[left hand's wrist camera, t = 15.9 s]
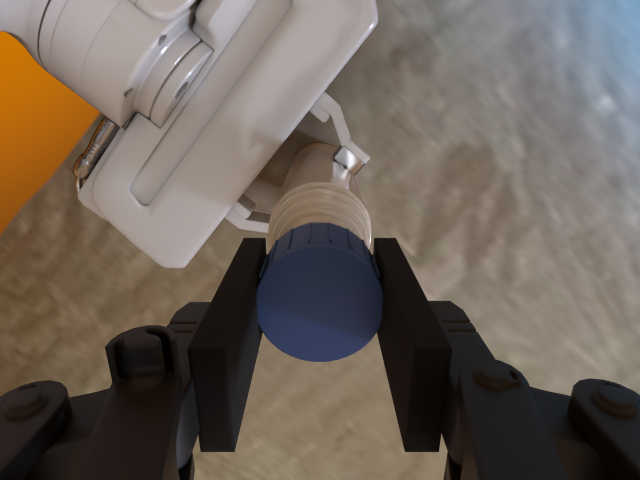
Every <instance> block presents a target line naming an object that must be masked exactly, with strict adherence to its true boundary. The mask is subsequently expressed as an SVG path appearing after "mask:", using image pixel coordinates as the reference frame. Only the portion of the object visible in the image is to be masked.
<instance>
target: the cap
mask: <svg viewBox="0 0 640 480" xmlns="http://www.w3.org/2000/svg"><path fill="white" fill-rule="evenodd" d="M259 278H260V281H259V284H258V287H257V291H256V296H257V313H258V323H259V326H260V328H261V330H262V332H263V333H264V334H265V336H266V337H267V338H268V340H269V341H270V342H271V343H272V344H273V345H275V346H276V347H277V348H278V349H280V350H281V351H283V352H284V353H286V354H288V355H290V356H292V357H295V358H298V359H302V360H306V361H313V362H326V361H333V360H338V359H341V358H344V357H347V356H349V355H351V354H354V353H355V352H357V351H358V350H360V349H361V348H363V347H364V346H365V345H366V344H367V343H368V342H369V341H370V340H371V339H372V338H373V337H374V335H375V334H376V332H377V331H378V329H379V327H380V325H381V321H382V305H383V289H382V286H381V282H380V278H381V276H380V273H379V270H378V267H377V264H376V261H375V258H374V255H373V254H372V255H371V253H370V251H369V249H368V247H367V246H366V245H365V242H364V240H363V239H362V240H361V239H360V238H359V237H358V236H357V235H355V234H354V233H353V232H351V231H350V230H349V229H348V228H347V229H346V228H344V227H341V226H338V225H335V224H331V223H330V222H329V223H311V222H310V223H309V224H305V225H301V226H299V227H296V228H294V229H293V228H291V229H290V231H288V232H287V233H285V234H284V235H283V236H282V237H281V238H279V239H278V240H276V241H275V244H274V245H273V247H272V248H271V250H270V252H269V254H268V255H267V254H266V257H265V260H264V263H263V266H262V269H261V272H260V275H259Z"/></svg>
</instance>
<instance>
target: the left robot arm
mask: <svg viewBox="0 0 640 480" xmlns="http://www.w3.org/2000/svg"><path fill="white" fill-rule="evenodd" d="M373 255H374V258H375V261H376V264H377V267H378V270H379V273H380V276H381V278H380V282H381V286H382V289H383V305H382V321H381V325H380V327H379V329H378V331H377V335H378V339H379V343H380V347H381V352H382V356H383V360H384V365H385V369H386V373H387V377H388V382H389V386H390V390H391V394H392V399H393V403H394V407H395V411H396V416H397V420H398V424H399V428H400V433H401V437H402V441H403V445H404V450H405V452H439V446H440V439H441V433H442V436H443V439H444V441H445V444H446V447H447V450H448V453H447V460H446V467H445V474H444V480H640V395H639V394H637V393H636V392H634V391H632V390H630V389H628V388H626V387H624V386H622V385H620V384H617V383H614V382H611V381H606V380H600V379H585V380H580V381H578V382H577V383H576V384H575V385H574V386H573V390H572V394H571V396H568V395H563V394H558V393H554V392H549V391H544V390H540V389H537V388H533V387H530V386H529V384H528V381H527V380H526V379H525V377H524V376H523V375H522V373H521V372H519V371H518V370H517V369H515V368H514V367H512V366H511V365H508V364H506V363H504V362H502V361H499V360H495V358H494V357H493V355H492V354H491V352H490V351H489V349H488V347H487V346H486V344H485V343H484V341H483V340H482V338H481V337H480V335H479V334H478V332H476V329H475V328H474V326H473V324H472V323H470V320H469V318H468V317H467V315H466V314H465V312H464V311H463V310H462V309H461V308H459V307H458V306H456V305H455V304H454V303H452V302H451V301H428V300H427V298H426V296H425V295H424V293H423V291H422V289H421V287H420V285H419V283H418V281H417V279H416V277H415V275H414V273H413V271H412V269H411V267H410V265H409V263H408V261H407V259H406V257H405V255H404V253H403V252H402V250H401V248H400V246H399V244H398V242H397V240H396V238H374V252H373ZM265 257H266V241H265V238H244V239H243V241H242V243H241V245H240V247H239V249H238V251H237V253H236V255H235V256H234V258H233V260H232V262H231V264H230V266H229V268H228V270H227V272H226V274H225V276H224V278H223V280H222V282H221V284H220V286H219V288H218V290H217V292H216V294H215V295H214V297H213V299H212V301H211V302H189V303H188V304H186V305H185V306H184V307H182V308H181V309H179V310H178V311H177V312H176V313H175V315H174V316H173V318H172V319H171V321H170V324H168V325H167V327H164V326H160V325H148V326H142V327H137V328H133V329H131V330H128V331H125V332H123V333H121V334H119V335H118V336H116V337H115V338H113V339H112V340H111V341H110V342H109V343H108V344H107V345H106V347H105V349H106V354H107V359H108V363H109V368H110V373H111V377H112V384H111V387H110V388H109V389H106V390H102V391H99V392H94V393H90V394H85V395H80V396H76V397H71V398H69V396H68V392H67V388H66V387H65V386H64V385H63V384H62V383H60V382H55V381H50V380H49V381H39V382H33V383H29V384H26V385H23V386H20V387H18V388H16V389H14V390H12V391H10V392H7V393H5V394H4V395H3V396H1V397H0V480H194V471H195V467H194V460H193V453H192V451H193V448H194V445H195V442H196V439H197V436H198V435H199V442H200V450H201V452H235V448H236V443H237V439H238V435H239V431H240V426H241V422H242V418H243V414H244V409H245V405H246V401H247V397H248V392H249V388H250V384H251V380H252V375H253V371H254V367H255V363H256V358H257V354H258V350H259V346H260V341H261V337H262V333H263V332H262V330H261V328H260V326H259V323H258V313H257V296H256V291H257V287H258V284H259V281H260V278H259V275H260V272H261V269H262V266H263V263H264V260H265Z"/></svg>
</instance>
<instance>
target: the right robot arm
mask: <svg viewBox="0 0 640 480" xmlns="http://www.w3.org/2000/svg"><path fill="white" fill-rule="evenodd" d="M377 23H378V12H377V4H376V0H0V31H5V32H7V33H9V34H10V35H12V36H13V37H14V38H16V39H17V40H18V41H19V42H20V43H21V44H22V45H23V46H24V47H25V48H26V49H27V51H28V52H29V53H30V54H31V56H32V57H33V58H34V59H35V61H36V62H37V63H38V64H39V65H40V66H41V67H42V68H43V69H45V70H46V71H47V72H48V73H50V74H51V75H52V76H54V77H55V78H56V79H58V80H59V81H60V82H62V83H63V84H64V85H66V86H67V87H68V88H70V89H71V90H72V91H74V92H75V93H76V94H78V95H79V96H80V97H81V98H83V99H84V100H85V101H87V102H88V103H89V104H90V105H92V106H93V107H94V108H96V109H97V110H98V111H100V112H101V113H102V114H104V115H105V116H104V117H103V119H102V120H101V123H100V124H99V126H98V127H97V129H96V130H95V132H94V134H93V136H92V138H91V140H90V143H89V145H88V147H87V148H86V150H85V152H84V153H83V154H81V155H80V156H79V158H78V159H77V161H76V163H75V165H74V167H73V173H74V175H75V176H76V177H75V189H76V192H77V194H78V195H77V197H78V199H79V200H80V202H81V203H82V204H83V205H84V206H85V207H87V208H88V209H90V210H91V211H93V212H94V213H95V214H97V215H98V216H100V217H101V218H103V219H105V220H107V221H109V222H110V223H111V224H112V225H113V226H114V227H115V228H116V229H117V230H118V231H119V232H120V233H121V234H122V235H123V236H125V237H126V238H127V239H128V240H129V241H130V242H131V243H132V244H134V245H135V246H136V247H137V248H138V249H140V250H141V251H142V252H143V253H144V254H146V255H147V256H148V257H149V258H151V259H152V260H153V261H155V262H156V263H157V264H159V265H161V266H162V267H165V268H184V267H185V266H186V265H187V264H188V263H189V262H190V260H191V259H192V258H193V257H194V255H195V254H196V253H197V252H198V250H199V249H200V248H201V246H202V245H203V244H204V243H205V241H206V240H207V239H208V238H209V236H210V235H211V234H212V233H213V231H214V230H215V229H216V227H217V226H218V225H219V223H220V222H221V221H222V220H223V218H225V219H226V220H228V221H229V222H230V223H232V224H233V225H234V226H236V227H237V228H238V229H243V230H250V231H257V232H264V233H268V227H269V220H270V217H271V215H270V214H264V213H259V212H254V211H253V209H254V207H255V206H256V205H255V203H254V202H253V201H252V200H251V199H249V198H248V197H247V196H246V195H244V194H243V193H244V192H245V191H246V189H247V188H248V187H249V186H250V184H251V183H252V182H253V181H254V179H255V178H256V177H257V175H258V174H259V173H260V172H261V170H262V169H263V168H264V167H265V165H266V164H267V163H268V162H269V160H270V159H271V158H272V156H273V155H274V154H275V153H276V151H277V150H278V149H279V148H280V146H281V145H282V144H283V143H284V141H285V140H286V139H287V138H288V136H289V135H290V134H291V132H292V131H293V130H294V129H295V127H296V126H297V125H298V124H299V122H300V121H301V120H302V119H303V117H304V116H305V115H306V114H307V112H308V111H310V112H311V113H312V114H313V115H314V116H315V117H317V118H318V119H319V120H320V121H321V122H322V123H324V122H326V121H327V120H328V118H329V115H330V116H331V118H332V121H333V124H334V127H335V130H336V133H337V136H338V139H339V141H340V144H341V145H340V146H339V147H338V148H337V150H336V151H335V152H334V153H333V157H334V159H335V160H336V161H337V162H339V163H340V164H342V165H344V166H346V167H347V170H349V172H350V173H352V174H353V175H354V176H355V175H356V174H357V173H358V172H359V171H360V169H361V168H362V167H363V166H364V165H365V164H366V163H367V161H368V160H369V159H370V156H369V155H368V154H367V153H366V152H365V151H364V150H363V149H361V148H360V147H359V146H358V145H357V144H356V143H355V142H353V141H352V140H351V139H350V138H351V137H350V134H349V131H348V128H347V125H346V122H345V119H344V116H343V113H342V110H341V107H340V105H339V104H338V103H337V102H336V101H335V100H333V99H332V98H331V97H330V96H329V95H328V94H327V93H326V92H325V90H326V88H327V87H328V86H329V84H330V83H331V82H332V81H333V79H334V78H335V77H336V76H337V74H338V73H339V72H340V71H341V69H342V68H343V67H344V66H345V65H346V63H347V62H348V61H349V60H350V58H351V57H352V56H353V54H354V53H355V52H356V51H357V49H358V48H359V47H360V46H361V44H362V43H363V42H364V41H365V39H366V38H367V37H368V35H369V34H370V33H371V32H372V30H373V29H374V28H375V26H376V25H377ZM83 179H87V180H86V182H85V183H84V185H83V186H82V180H83Z"/></svg>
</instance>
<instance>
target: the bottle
mask: <svg viewBox="0 0 640 480" xmlns="http://www.w3.org/2000/svg"><path fill="white" fill-rule="evenodd" d="M336 150H337V148H336V147H334V146H332V145H330V144H326V143H314V144H310V145H308V146H306V147H304V148H302V149H301V150H300V151H299V152H298V153H297V154H296V155H295V157H294V159H293V161H292V163H291V166H290V168H289V171H288V173H287V176H286V178H285V181H284V183H283V186H282V188H281V191H280V193H279V196H278V199H277V201H276V204H275V206H274V209H273V211H272V214H271V217H270V220H269V227H268V235H269V245H270V249H271V248H272V247H273V245H274V244H275V241H276V240H278V239H279V238H281V237H282V236H283V235H284V234H285V233H287V232H288V231H290V229H291V228H293V229H294V228H296V227H299V226H301V225H305V224H309V223H310V222H311V223H329V222H330V223H331V224H335V225H338V226H341V227H344V228H346V229H347V228H348V229H349V230H350V231H351V232H353V233H354V234H355V235H357V236H358V237H359V238H360V239H361V240H362V239H363V240H364V242H365V245H366V246H367V247H368V249H369V248H370V243H371V222H370V218H369V215H368V212H367V210H366V207H365V204H364V202H363V199H362V197H361V194H360V192H359V189H358V187H357V184H356V181H355V179H354V176H353V174H352V173H350V172H349V170H347V167H346V166H344V165H342V164H340V163H339V162H337V161H336V160H335V159H334V157H333V153H334V152H335V151H336Z"/></svg>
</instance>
